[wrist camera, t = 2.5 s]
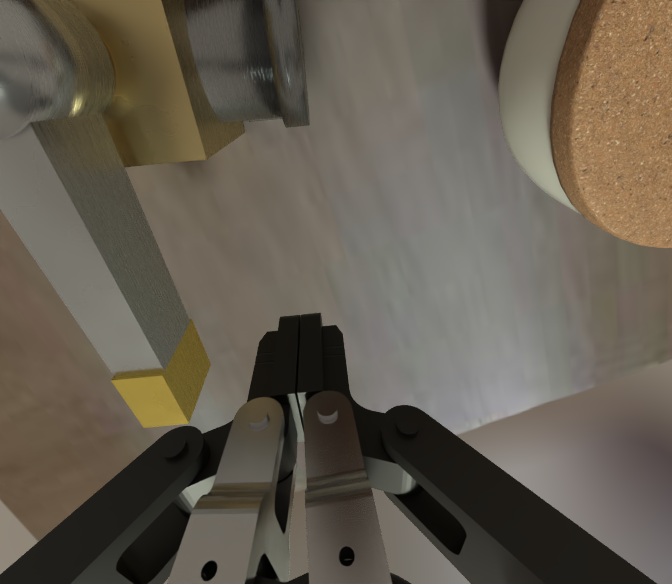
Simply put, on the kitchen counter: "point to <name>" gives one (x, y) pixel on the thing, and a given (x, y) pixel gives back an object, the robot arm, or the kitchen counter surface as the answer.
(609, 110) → the lidded bowl
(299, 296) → the kitchen counter surface
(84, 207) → the lever
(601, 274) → the kitchen counter surface
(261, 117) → the ball valve
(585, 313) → the kitchen counter surface
